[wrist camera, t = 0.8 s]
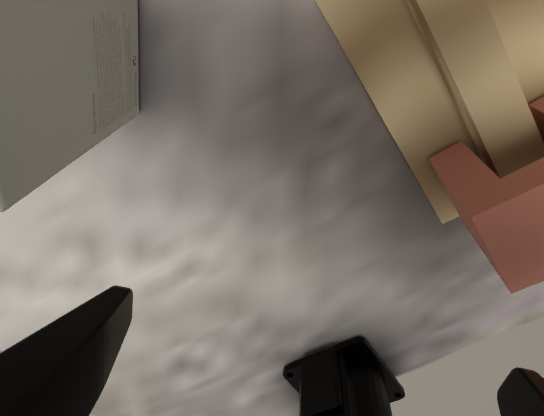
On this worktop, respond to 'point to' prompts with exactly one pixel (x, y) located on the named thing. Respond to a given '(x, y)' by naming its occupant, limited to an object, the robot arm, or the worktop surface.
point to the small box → (62, 84)
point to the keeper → (500, 208)
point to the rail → (449, 78)
